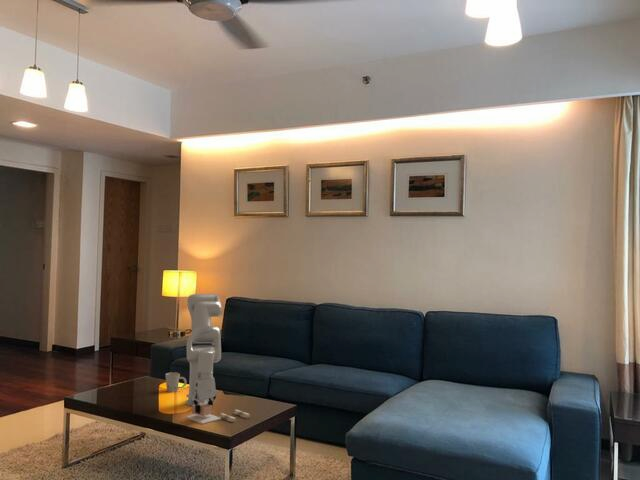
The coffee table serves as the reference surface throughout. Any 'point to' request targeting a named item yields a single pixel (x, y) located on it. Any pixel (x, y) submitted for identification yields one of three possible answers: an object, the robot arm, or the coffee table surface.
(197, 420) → the mat
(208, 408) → the block
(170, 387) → the mug
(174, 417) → the coffee table surface
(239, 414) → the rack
